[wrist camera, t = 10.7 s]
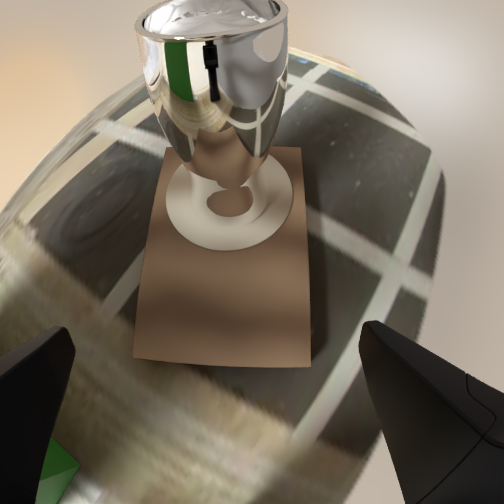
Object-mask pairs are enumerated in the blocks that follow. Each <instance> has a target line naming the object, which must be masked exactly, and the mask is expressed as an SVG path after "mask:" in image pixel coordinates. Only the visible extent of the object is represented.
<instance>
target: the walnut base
mask: <svg viewBox="0 0 504 504" xmlns="http://www.w3.org/2000/svg"><path fill="white" fill-rule="evenodd" d="M265 171H266V176H267V180H268V185H269V200H268V203H267V205H266V208H265V209H264V211H263V212H262V213H261V215H260V216H259V217H257V218H256V219H255V220H254V221H252V222H250V223H248V224H246V225H243V226H240V227H235V228H221V227H216V226H213V225H210V224H208V223H206V222H205V221H203V220H202V219H201V218H200V217H199V216H198V215H197V214H196V212H195V211H194V209H193V207H192V204H191V182H190V178H189V175H188V172H187V170H186V169H185V167H184V165H183V163H182V162H181V160H180V159H179V157H178V155H177V154H176V152H175V151H174V149H173V147H166V151H165V155H164V159H163V163H162V167H161V172H160V176H159V180H158V185H157V189H156V194H155V199H154V203H153V208H152V213H151V219H150V224H149V229H148V235H147V240H146V246H145V252H144V259H143V265H142V272H141V279H140V286H139V294H138V302H137V311H136V320H135V330H134V341H133V353H132V357H133V358H139V359H146V360H154V361H163V362H173V363H184V364H197V365H211V366H230V367H265V368H294V367H311V330H310V285H309V259H308V239H307V221H306V206H305V192H304V179H303V167H302V156H301V148H300V147H279V146H271V148H270V151H269V154H268V158H267V161H266V167H265Z"/></svg>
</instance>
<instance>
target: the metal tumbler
mask: <svg viewBox="0 0 504 504" xmlns="http://www.w3.org/2000/svg"><path fill="white" fill-rule="evenodd" d="M287 14H288V7H287V5H286V4H285V3H284V2H283V1H282V0H165V1H163V2H161V3H159V4H157V5H155V6H153V7H151V8H149V9H148V10H146V11H145V12H144V13H143V14H141V15H140V17H139V18H138V19H137V20H136V23H135V30H136V33H137V39H138V44H139V51H140V57H141V63H142V68H143V73H144V78H145V82H146V86H147V90H148V94H149V97H150V100H151V103H152V106H153V109H154V112H155V114H156V117H157V120H158V122H159V124H160V126H161V127H162V129H163V131H164V133H165V135H166V137H167V139H168V141H169V142H170V144H171V146H172V147H173V149H174V151H175V152H176V154H177V155H178V157H179V159H180V160H181V162H182V163H183V165H184V167H185V169H186V170H187V172H188V175H189V178H190V182H191V204H192V207H193V209H194V211H195V212H196V214H197V215H198V216H199V217H200V218H201V219H202V220H203V221H205V222H206V223H208V224H210V225H213V226H216V227H221V228H235V227H240V226H243V225H246V224H248V223H250V222H252V221H254V220H255V219H256V218H257V217H259V216H260V215H261V213H262V212H263V211H264V209H265V208H266V205H267V203H268V200H269V185H268V180H267V176H266V171H265V167H266V161H267V158H268V154H269V151H270V148H271V146H272V143H273V140H274V137H275V134H276V131H277V128H278V125H279V121H280V117H281V113H282V110H283V106H284V100H285V93H286V86H287V74H288V28H287Z"/></svg>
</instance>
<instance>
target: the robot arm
mask: <svg viewBox="0 0 504 504" xmlns="http://www.w3.org/2000/svg"><path fill="white" fill-rule="evenodd" d="M359 354H360V358H361V361H362V366H363V370H364V374H365V378H366V382H367V386H368V390H369V394H370V397H371V400H372V403H373V406H374V408H375V411H376V414H377V417H378V420H379V423H380V425H381V428H382V431H383V434H384V437H385V440H386V443H387V446H388V449H389V452H390V455H391V458H392V461H393V464H394V467H395V471H396V474H397V477H398V480H399V484H400V487H401V490H402V494H403V497H404V501H405V504H504V393H502V392H500V391H498V390H496V389H494V388H492V387H490V386H489V385H487V384H485V383H483V382H481V381H480V380H478V379H476V378H475V377H472V376H471V375H469V374H468V373H467V374H466V373H465V372H464V371H462V370H461V369H459V368H458V367H456V366H454V365H452V364H451V363H449V362H447V361H446V360H444V359H442V358H441V357H439V356H437V355H435V354H434V353H432V352H430V351H429V350H427V349H425V348H424V347H422V346H420V345H419V344H417V343H415V342H414V341H412V340H410V339H408V338H407V337H405V336H403V335H402V334H400V333H398V332H397V331H395V330H393V329H391V328H390V327H388V326H386V325H385V324H383V323H381V322H379V321H377V320H374V321H366V322H364V324H363V326H362V330H361V335H360V340H359ZM74 357H75V346H74V344H73V342H72V339H71V337H70V334H69V332H68V330H67V329H66V328H65V327H59V326H55V327H53V328H51V329H49V330H47V331H45V332H44V333H42V334H40V335H38V336H36V337H35V338H33V339H31V340H29V341H27V342H26V343H24V344H22V345H20V346H19V347H17V348H15V349H13V350H12V351H10V352H8V353H6V354H5V355H3V356H1V357H0V504H35V503H36V497H37V492H38V487H39V483H40V478H41V474H42V470H43V465H44V461H45V458H46V454H47V450H48V446H49V443H50V439H51V436H52V432H53V429H54V426H55V423H56V419H57V416H58V413H59V410H60V407H61V404H62V401H63V398H64V395H65V392H66V388H67V384H68V380H69V376H70V372H71V368H72V365H73V361H74Z"/></svg>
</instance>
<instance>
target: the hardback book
mask: <svg viewBox="0 0 504 504" xmlns="http://www.w3.org/2000/svg"><path fill="white" fill-rule="evenodd" d="M79 467H80V464H79V463H78V462H77V461H76V460H75V459H74V458H72V457H71V456H70V455H69V454H68V453H67V452H66V451H65V450H64V449H63V448H62V447H61V446H60V445H59V444H58V443H57V442H56V441H55V440H54V439H53V438H52V437H51V439H50V443H49V446H48V450H47V454H46V458H45V461H44V465H43V470H42V474H41V478H40V483H39V487H38V492H37V497H36V503H35V504H57V503H58V501H59V500H60V498H61V496H62V495H63V493H64V491H65V490H66V488H67V486H68V485H69V483H70V481H71V480H72V478H73V477H74V475H75V473H76V472H77V470H78V468H79Z"/></svg>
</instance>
